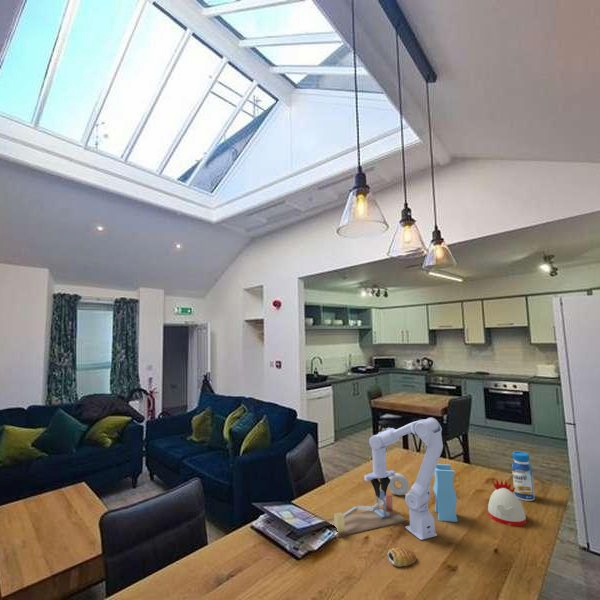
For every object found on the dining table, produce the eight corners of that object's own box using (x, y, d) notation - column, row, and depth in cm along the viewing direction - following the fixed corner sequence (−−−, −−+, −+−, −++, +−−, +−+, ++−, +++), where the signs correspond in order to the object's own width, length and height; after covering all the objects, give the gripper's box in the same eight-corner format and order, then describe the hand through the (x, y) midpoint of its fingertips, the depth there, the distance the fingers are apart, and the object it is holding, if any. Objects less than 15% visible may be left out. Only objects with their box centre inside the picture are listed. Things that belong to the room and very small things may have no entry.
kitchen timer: (489, 506, 155) (486, 471, 157) (525, 514, 148) (522, 477, 150) (487, 520, 143) (484, 482, 145) (527, 529, 136) (523, 489, 138)
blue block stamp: (381, 510, 152) (380, 487, 153) (389, 516, 146) (388, 493, 148) (373, 512, 151) (372, 488, 152) (381, 518, 145) (380, 494, 146)
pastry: (410, 553, 122) (409, 541, 123) (420, 565, 116) (420, 553, 116) (385, 557, 120) (385, 545, 121) (395, 569, 114) (394, 557, 114)
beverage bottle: (539, 499, 161) (535, 454, 163) (527, 502, 158) (523, 457, 160) (522, 492, 169) (518, 449, 171) (510, 495, 166) (506, 452, 168)
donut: (409, 495, 168) (408, 473, 169) (408, 498, 165) (407, 476, 166) (388, 492, 172) (387, 471, 173) (387, 494, 168) (386, 473, 170)
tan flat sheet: (406, 521, 143) (406, 520, 144) (336, 538, 132) (336, 536, 132) (388, 507, 156) (388, 506, 156) (322, 521, 144) (322, 520, 144)
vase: (458, 522, 142) (454, 471, 145) (438, 520, 144) (435, 470, 146) (453, 512, 150) (450, 464, 152) (434, 511, 152) (431, 463, 154)
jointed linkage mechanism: (396, 511, 151) (396, 496, 151) (339, 535, 133) (338, 517, 134) (387, 507, 155) (386, 492, 156) (330, 529, 138) (329, 512, 138)
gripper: (388, 457, 157) (389, 489, 156) (360, 462, 152) (361, 494, 151) (397, 462, 151) (399, 495, 149) (368, 467, 146) (370, 501, 144)
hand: (380, 495), depth 149 cm, fingers closed on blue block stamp, 2 cm apart
